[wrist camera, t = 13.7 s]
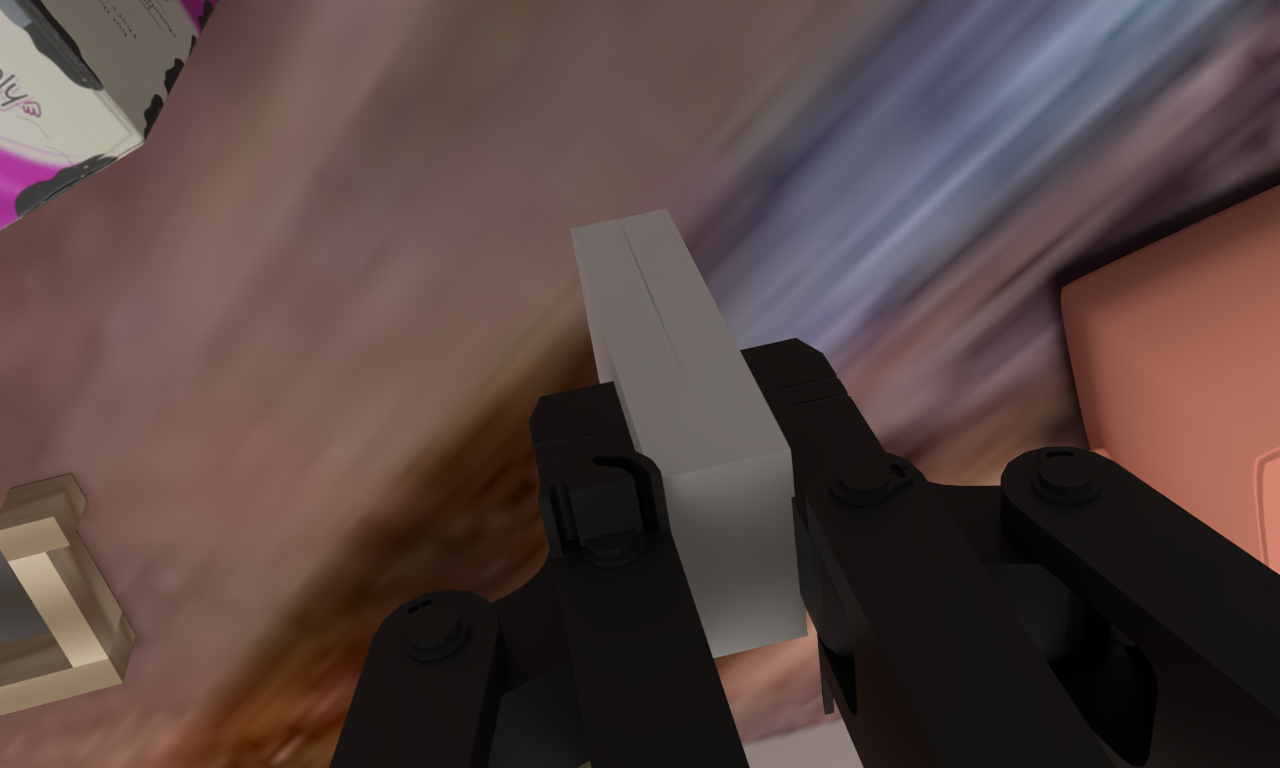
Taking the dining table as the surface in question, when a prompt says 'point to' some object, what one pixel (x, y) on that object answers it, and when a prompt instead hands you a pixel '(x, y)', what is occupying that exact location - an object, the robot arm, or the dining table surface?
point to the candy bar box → (83, 87)
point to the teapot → (1190, 368)
